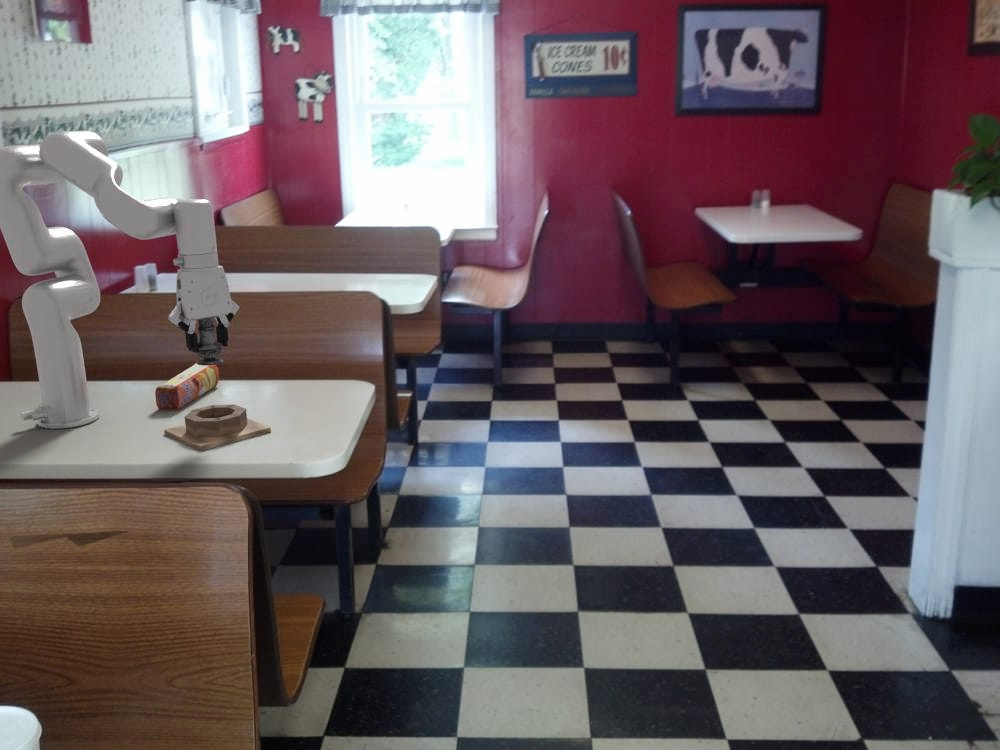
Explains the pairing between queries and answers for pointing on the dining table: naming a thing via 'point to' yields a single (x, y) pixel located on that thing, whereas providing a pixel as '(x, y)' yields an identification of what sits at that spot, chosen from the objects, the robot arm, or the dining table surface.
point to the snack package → (186, 387)
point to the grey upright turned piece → (208, 343)
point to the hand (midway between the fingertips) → (208, 347)
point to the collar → (216, 427)
